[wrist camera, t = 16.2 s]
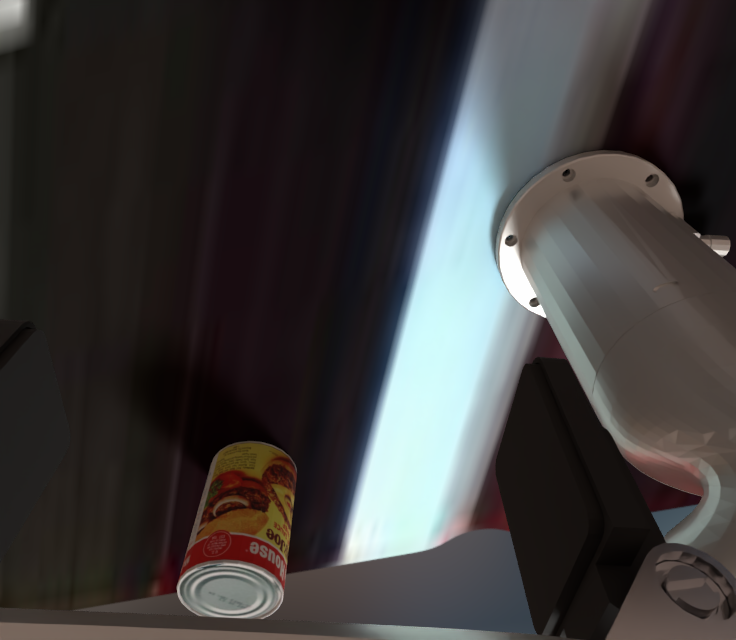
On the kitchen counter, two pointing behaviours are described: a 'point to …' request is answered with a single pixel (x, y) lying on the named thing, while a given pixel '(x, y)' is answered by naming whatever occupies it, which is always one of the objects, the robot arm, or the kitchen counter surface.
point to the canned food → (241, 534)
